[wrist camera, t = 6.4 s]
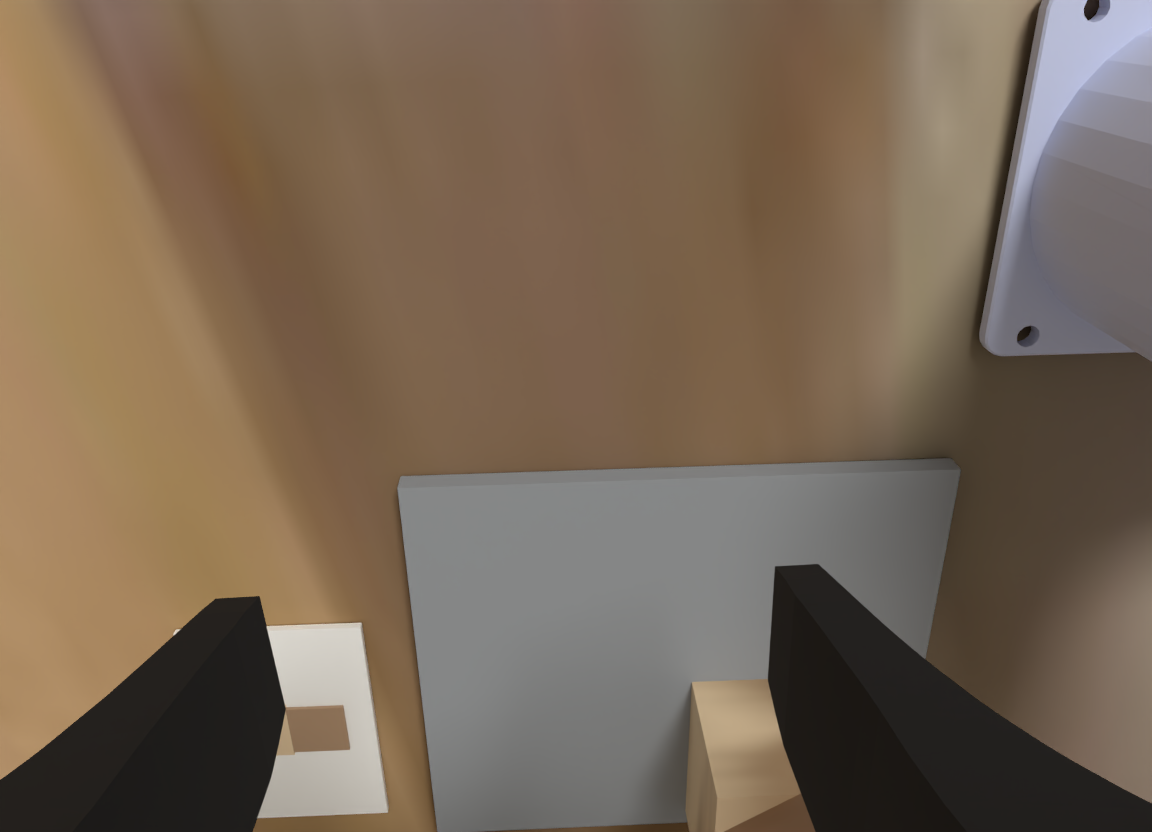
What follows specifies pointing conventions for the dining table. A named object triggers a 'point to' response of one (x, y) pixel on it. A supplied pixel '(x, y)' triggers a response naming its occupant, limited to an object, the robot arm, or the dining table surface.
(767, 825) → the walnut block
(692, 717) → the oak block
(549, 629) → the mat
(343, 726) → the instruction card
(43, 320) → the dining table surface
